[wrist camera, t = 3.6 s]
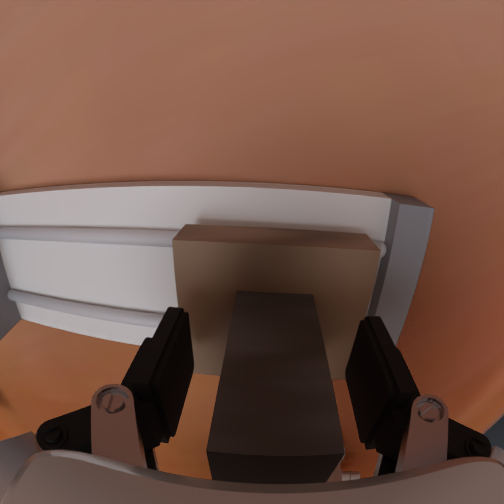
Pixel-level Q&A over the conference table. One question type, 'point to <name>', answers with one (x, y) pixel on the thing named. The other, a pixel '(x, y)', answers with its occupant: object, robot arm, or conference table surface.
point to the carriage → (273, 342)
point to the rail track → (161, 251)
